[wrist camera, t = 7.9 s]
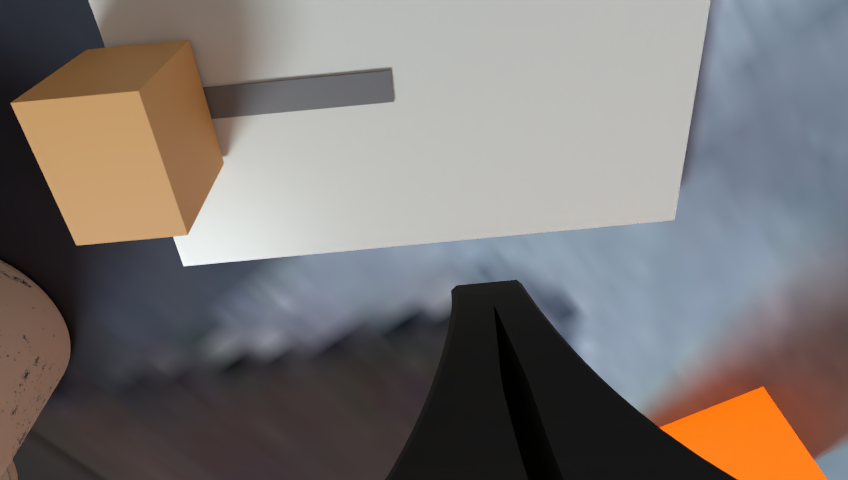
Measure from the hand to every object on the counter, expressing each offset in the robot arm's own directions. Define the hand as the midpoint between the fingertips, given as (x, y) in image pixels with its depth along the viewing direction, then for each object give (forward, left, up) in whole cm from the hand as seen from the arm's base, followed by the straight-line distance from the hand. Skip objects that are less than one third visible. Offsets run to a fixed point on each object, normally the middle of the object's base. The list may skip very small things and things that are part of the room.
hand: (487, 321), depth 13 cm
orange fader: (+9, -2, -9) cm, 13 cm away
